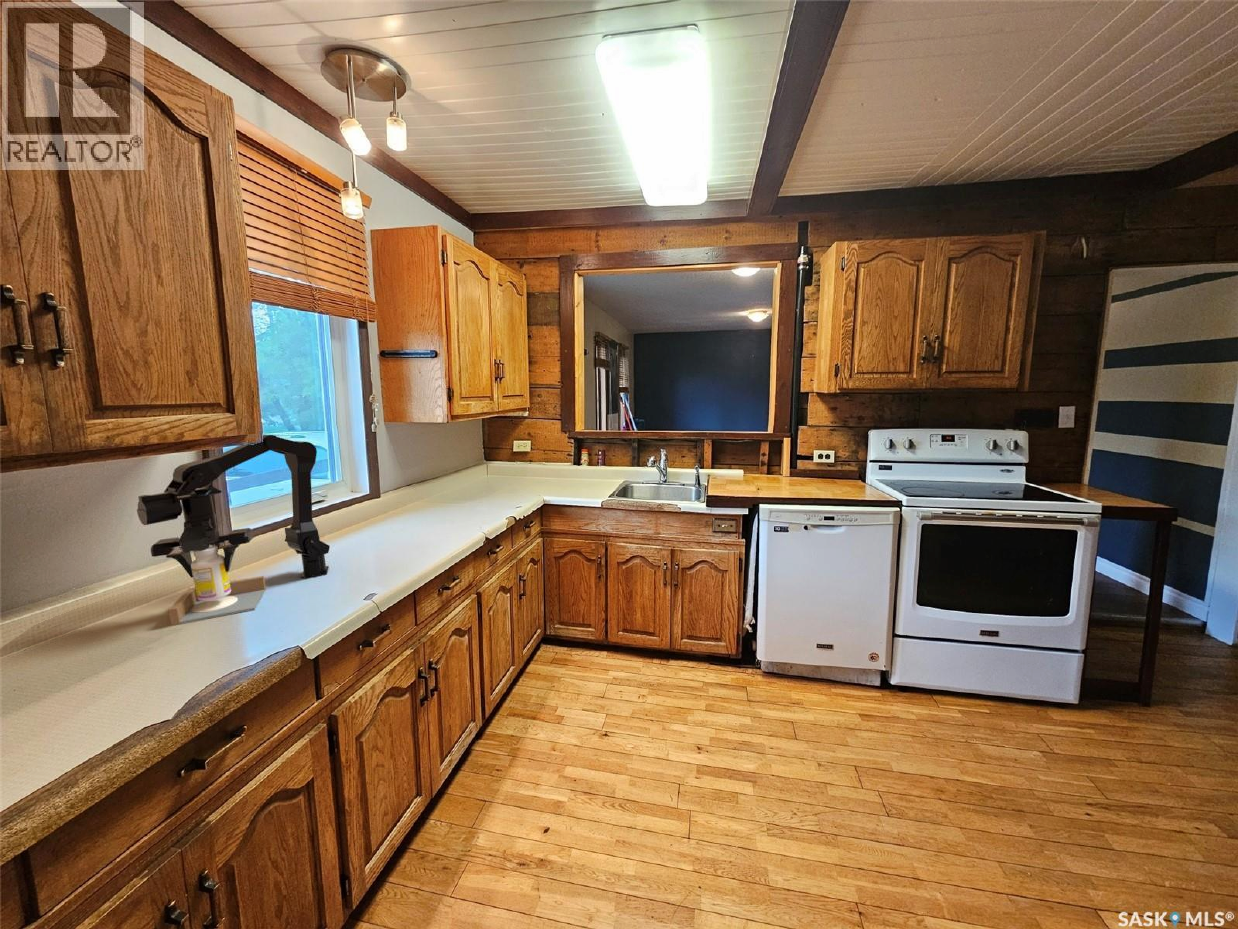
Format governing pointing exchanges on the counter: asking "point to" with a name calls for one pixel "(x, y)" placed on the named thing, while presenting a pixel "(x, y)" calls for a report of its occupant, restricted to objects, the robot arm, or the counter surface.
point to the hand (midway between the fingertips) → (210, 574)
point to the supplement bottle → (210, 574)
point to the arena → (218, 602)
